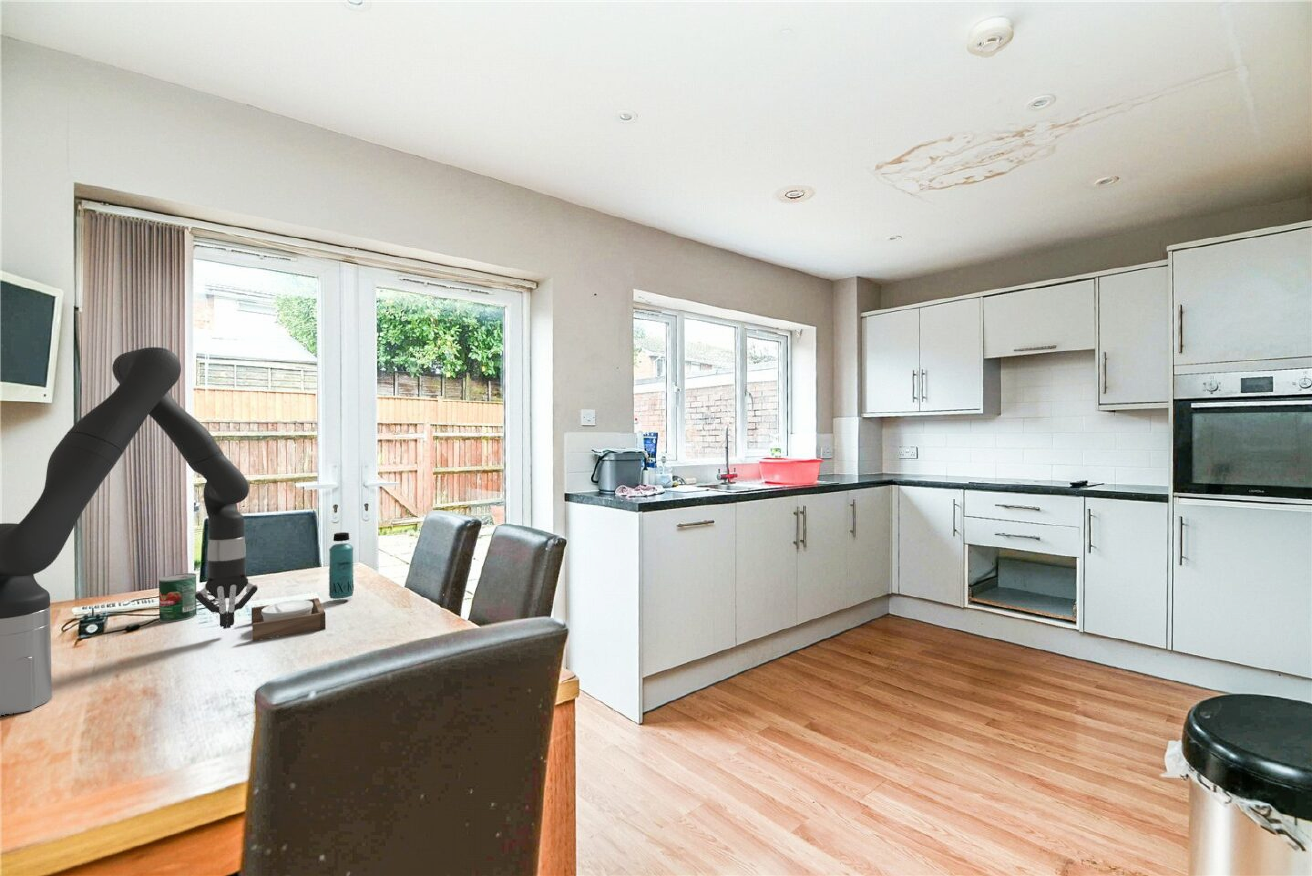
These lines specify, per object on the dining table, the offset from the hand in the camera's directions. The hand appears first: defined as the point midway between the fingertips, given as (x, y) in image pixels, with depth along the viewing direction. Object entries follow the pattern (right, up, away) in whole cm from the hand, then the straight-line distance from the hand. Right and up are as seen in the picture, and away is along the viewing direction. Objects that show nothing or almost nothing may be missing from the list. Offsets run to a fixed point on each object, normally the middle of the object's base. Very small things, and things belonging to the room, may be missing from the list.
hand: (227, 627), depth 145 cm
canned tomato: (-24, -2, +15) cm, 28 cm away
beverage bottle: (+12, -2, +30) cm, 32 cm away
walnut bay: (+10, -2, +7) cm, 12 cm away
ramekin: (+10, -2, +8) cm, 13 cm away
